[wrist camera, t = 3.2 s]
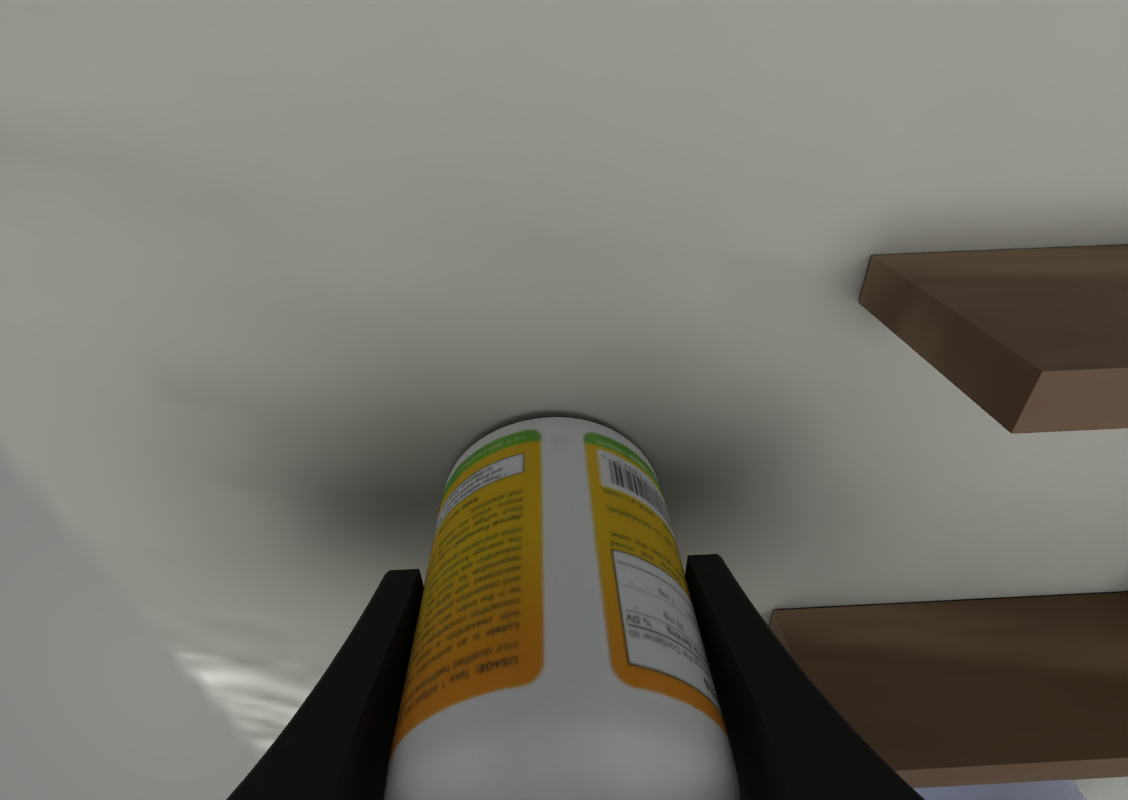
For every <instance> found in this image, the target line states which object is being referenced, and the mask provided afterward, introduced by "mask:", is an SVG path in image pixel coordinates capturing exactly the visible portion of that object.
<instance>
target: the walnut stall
mask: <svg viewBox="0 0 1128 800" xmlns="http://www.w3.org/2000/svg"><path fill="white" fill-rule="evenodd" d="M859 303H860V304H861V305H862V306H863V307H864V308H865V309H867V310H868V311H869V312H870V313H871V314H872V315H874V316H875V317H876V318H877V319H878V320H879V321H881V322H882V323H883V324H884V325H885V326H886V327H888V328H889V329H890V330H891V331H892V332H893V333H895V334H896V335H897V336H898V337H899V338H900V339H902V340H903V341H904V342H905V343H906V344H907V345H909V346H910V347H911V348H912V349H913V350H914V351H916V352H917V353H918V354H919V355H920V356H921V357H923V358H924V359H925V360H926V361H927V362H928V363H930V364H931V365H932V366H933V367H934V368H935V369H937V370H938V371H939V372H940V373H941V374H942V375H944V376H945V377H946V378H947V379H948V380H949V381H951V382H952V383H953V384H954V385H955V386H956V387H958V388H959V389H960V390H961V391H962V392H963V393H965V394H966V395H967V396H968V397H969V398H970V399H972V400H973V401H974V402H975V403H976V404H977V405H979V406H980V407H981V408H982V409H983V410H984V411H986V412H987V413H988V414H989V415H990V416H991V417H993V418H994V419H995V420H996V421H997V422H998V423H1000V424H1001V425H1002V426H1003V427H1004V428H1005V429H1007V430H1008V431H1009V432H1010V433H1011V434H1012V433H1033V432H1055V431H1076V430H1098V429H1119V428H1128V245H1109V246H1085V247H1061V248H1037V249H1012V250H988V251H964V252H940V253H915V254H891V255H872V257H871V260H870V264H869V267H868V271H867V275H866V278H865V282H864V286H863V289H862V293H861V296H860V300H859ZM769 628H770V629H771V630H772V632H773V633H774V634H775V636H776V637H777V638H778V640H779V641H780V642H781V643H782V645H783V646H784V647H785V649H786V650H787V651H788V653H789V654H790V655H791V656H792V658H793V659H794V660H795V661H796V663H797V664H798V665H799V666H800V668H801V669H802V670H803V671H804V673H805V674H806V675H807V676H808V677H809V679H810V680H811V681H812V682H813V683H814V684H815V686H816V687H817V688H818V689H819V690H820V692H821V693H822V694H823V695H824V696H825V697H826V699H827V700H828V701H829V702H830V703H831V704H832V705H833V707H834V708H835V709H836V710H837V711H838V712H839V713H840V714H841V716H842V717H843V718H844V719H845V720H846V721H847V722H848V723H849V724H850V725H851V726H852V727H853V729H854V730H855V731H856V732H857V733H858V734H859V735H860V736H861V737H862V738H863V739H864V740H865V741H866V742H867V743H868V744H869V746H870V747H871V748H872V749H873V750H874V751H875V752H876V753H877V754H878V755H879V756H880V757H881V758H882V759H883V760H884V761H885V762H886V763H887V764H888V765H889V766H890V767H891V768H892V769H893V770H894V771H895V772H896V773H897V774H898V775H899V776H900V777H901V778H902V779H903V780H904V781H905V782H907V783H908V784H909V785H910V786H911V787H912V788H930V787H948V786H966V785H983V784H1001V783H1019V782H1037V781H1055V780H1072V779H1090V778H1108V777H1126V776H1128V592H1122V593H1103V594H1083V595H1063V596H1044V597H1024V598H1005V599H985V600H966V601H946V602H926V603H907V604H887V605H868V606H848V607H829V608H809V609H789V610H774V612H773V616H772V619H771V623H770V627H769Z"/></svg>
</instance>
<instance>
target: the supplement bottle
mask: <svg viewBox="0 0 1128 800" xmlns="http://www.w3.org/2000/svg"><path fill="white" fill-rule="evenodd" d="M384 800H740V789H739V783H738V777H737V771H736V767H735V763H734V759H733V755H732V749H731V745H730V741H729V737H728V733H727V730H726V727H725V724H724V719H723V715H722V712H721V709H720V705H719V701H718V698H717V694H716V690H715V686H714V683H713V679H712V675H711V672H710V668H709V664H708V661H707V657H706V653H705V649H704V645H703V642H702V638H701V634H700V630H699V627H698V623H697V619H696V615H695V612H694V608H693V604H692V600H691V596H690V593H689V589H688V585H687V581H686V578H685V574H684V570H683V567H682V563H681V559H680V556H679V552H678V548H677V545H676V541H675V537H674V533H673V529H672V526H671V522H670V518H669V515H668V511H667V508H666V504H665V501H664V498H663V494H662V491H661V488H660V485H659V482H658V480H657V477H656V474H655V472H654V470H653V468H652V466H651V464H650V463H649V461H648V460H647V458H646V457H645V456H644V455H643V453H642V452H641V451H640V450H639V449H638V448H637V447H636V446H635V445H634V444H633V443H632V442H630V441H629V440H628V439H626V438H625V437H624V436H622V435H620V434H619V433H617V432H615V431H613V430H612V429H610V428H607V427H605V426H603V425H600V424H597V423H594V422H591V421H586V420H582V419H576V418H566V417H546V418H536V419H530V420H525V421H521V422H517V423H514V424H511V425H508V426H505V427H503V428H500V429H498V430H496V431H494V432H492V433H490V434H488V435H486V436H485V437H483V438H482V439H480V440H479V441H477V442H476V443H475V444H474V445H472V446H471V447H470V448H469V449H468V450H467V451H466V452H465V453H464V454H463V455H462V456H461V457H460V459H459V460H458V461H457V462H456V464H455V466H454V467H453V469H452V471H451V473H450V475H449V478H448V480H447V482H446V486H445V489H444V493H443V497H442V500H441V505H440V510H439V514H438V519H437V524H436V530H435V535H434V540H433V546H432V550H431V555H430V560H429V564H428V570H427V575H426V580H425V585H424V590H423V595H422V599H421V605H420V611H419V616H418V620H417V625H416V630H415V635H414V639H413V644H412V649H411V654H410V659H409V664H408V669H407V674H406V679H405V684H404V689H403V693H402V697H401V704H400V709H399V713H398V719H397V724H396V728H395V732H394V736H393V742H392V748H391V753H390V759H389V764H388V772H387V780H386V786H385V792H384Z"/></svg>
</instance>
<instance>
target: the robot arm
mask: <svg viewBox="0 0 1128 800" xmlns="http://www.w3.org/2000/svg"><path fill="white" fill-rule="evenodd" d="M685 578H686V581H687V585H688V589H689V593H690V596H691V600H692V604H693V608H694V612H695V615H696V619H697V623H698V627H699V630H700V634H701V638H702V642H703V645H704V649H705V653H706V657H707V661H708V664H709V668H710V672H711V675H712V679H713V683H714V686H715V690H716V694H717V698H718V701H719V705H720V709H721V712H722V715H723V719H724V724H725V727H726V730H727V733H728V737H729V741H730V745H731V749H732V755H733V759H734V763H735V767H736V771H737V777H738V783H739V789H740V800H1086V799H1085V798H1084V796H1083V795H1082V793H1081V792H1080V791H1079V789H1078V788H1077V786H1076V785H1075V784H1074V782H1073V781H1072V780H1073V779H1072V780H1055V781H1037V782H1019V783H1001V784H983V785H966V786H948V787H930V788H912V787H911V786H910V785H909V784H908V783H907V782H905V781H904V780H903V779H902V778H901V777H900V776H899V775H898V774H897V773H896V772H895V771H894V770H893V769H892V768H891V767H890V766H889V765H888V764H887V763H886V762H885V761H884V760H883V759H882V758H881V757H880V756H879V755H878V754H877V753H876V752H875V751H874V750H873V749H872V748H871V747H870V746H869V744H868V743H867V742H866V741H865V740H864V739H863V738H862V737H861V736H860V735H859V734H858V733H857V732H856V731H855V730H854V729H853V727H852V726H851V725H850V724H849V723H848V722H847V721H846V720H845V719H844V718H843V717H842V716H841V714H840V713H839V712H838V711H837V710H836V709H835V708H834V707H833V705H832V704H831V703H830V702H829V701H828V700H827V699H826V697H825V696H824V695H823V694H822V693H821V692H820V690H819V689H818V688H817V687H816V686H815V684H814V683H813V682H812V681H811V680H810V679H809V677H808V676H807V675H806V674H805V673H804V671H803V670H802V669H801V668H800V666H799V665H798V664H797V663H796V661H795V660H794V659H793V658H792V656H791V655H790V654H789V653H788V651H787V650H786V649H785V647H784V646H783V645H782V643H781V642H780V641H779V640H778V638H777V637H776V636H775V634H774V633H773V632H772V630H771V629H770V628H769V626H768V625H767V624H766V622H765V621H764V620H763V618H762V617H761V616H760V614H759V613H758V611H757V610H756V608H755V607H754V606H753V604H752V603H751V601H750V600H749V599H748V597H747V596H746V594H745V593H744V591H743V590H742V588H741V587H740V585H739V584H738V582H737V581H736V579H735V578H734V576H733V575H732V573H731V572H730V570H729V568H728V567H727V565H726V564H725V562H724V560H723V559H722V558H721V557H720V556H719V555H718V554H708V555H688V558H687V565H686V573H685ZM423 590H424V586H423V582H422V578H421V574H420V570H419V569H408V570H389V571H388V572H387V573H386V574H385V575H384V577H383V579H382V581H381V583H380V584H379V586H378V588H377V590H376V591H375V593H374V595H373V597H372V598H371V600H370V602H369V604H368V605H367V607H366V609H365V610H364V612H363V614H362V615H361V617H360V619H359V620H358V622H357V624H356V625H355V627H354V628H353V630H352V632H351V633H350V635H349V636H348V638H347V640H346V641H345V643H344V644H343V646H342V647H341V649H340V650H339V652H338V653H337V655H336V656H335V658H334V659H333V661H332V662H331V664H330V666H329V667H328V669H327V670H326V672H325V673H324V675H323V676H322V677H321V679H320V680H319V682H318V683H317V685H316V686H315V687H314V689H313V690H312V692H311V693H310V694H309V696H308V697H307V698H306V700H305V701H304V703H303V704H302V705H301V707H300V708H299V710H298V711H297V712H296V714H295V715H294V717H293V718H292V719H291V721H290V722H289V723H288V725H287V726H286V727H285V729H284V730H283V731H282V733H281V734H280V735H279V736H278V738H277V739H276V740H275V742H274V743H273V744H272V745H271V747H270V748H269V749H268V750H267V752H266V753H265V754H264V755H263V757H262V758H261V759H260V760H259V762H258V763H257V764H256V765H255V767H254V768H253V769H252V770H251V771H250V773H249V774H248V775H247V776H246V777H245V779H244V780H243V781H242V782H241V783H240V784H239V786H238V787H237V788H236V789H235V790H234V791H233V793H232V794H231V795H230V796H229V797H228V798H227V799H226V800H384V792H385V786H386V780H387V772H388V764H389V759H390V753H391V748H392V742H393V736H394V732H395V728H396V724H397V719H398V713H399V709H400V704H401V697H402V693H403V689H404V684H405V679H406V674H407V669H408V664H409V659H410V654H411V649H412V644H413V639H414V635H415V630H416V625H417V620H418V616H419V611H420V605H421V599H422V595H423Z"/></svg>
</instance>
